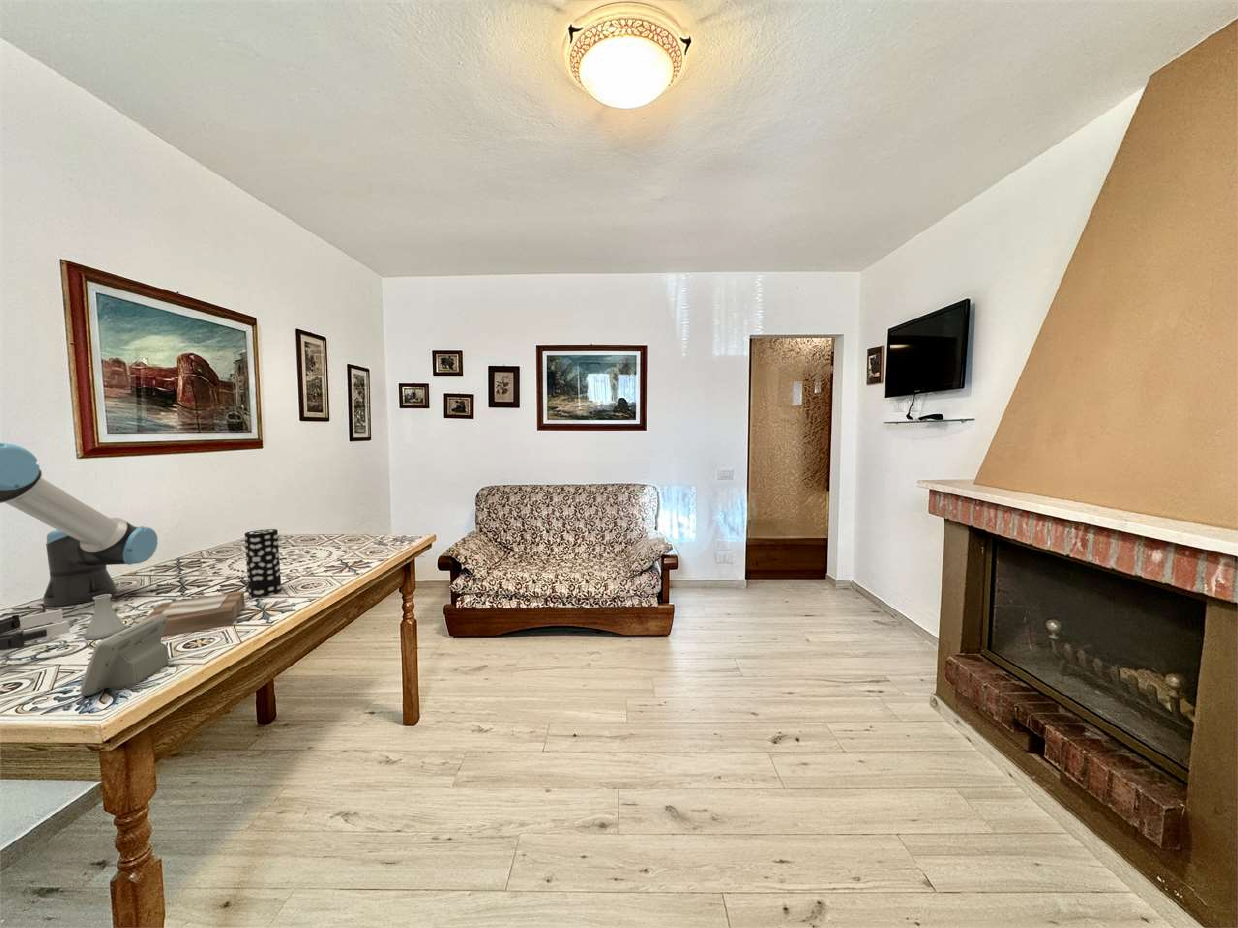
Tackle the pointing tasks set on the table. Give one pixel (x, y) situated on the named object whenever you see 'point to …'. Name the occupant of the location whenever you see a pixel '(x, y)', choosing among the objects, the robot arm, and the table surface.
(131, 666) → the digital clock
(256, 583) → the white-spotted black cylinder
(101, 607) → the flask
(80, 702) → the table surface
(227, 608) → the walnut plinth
